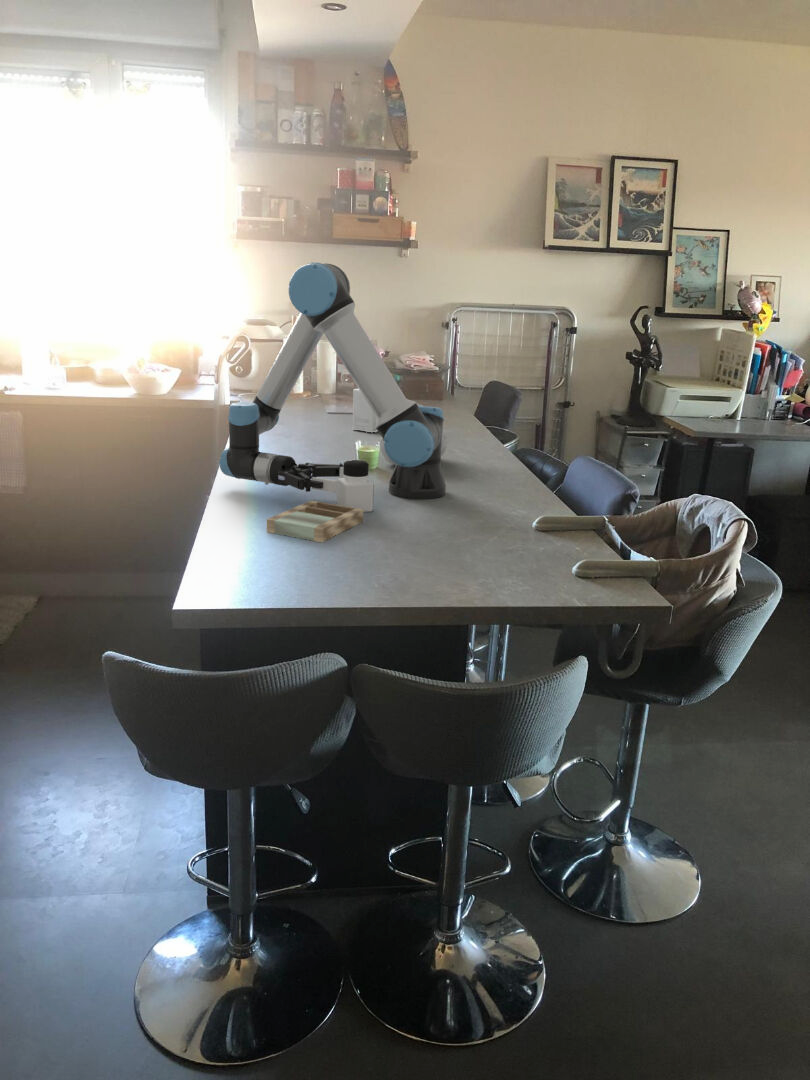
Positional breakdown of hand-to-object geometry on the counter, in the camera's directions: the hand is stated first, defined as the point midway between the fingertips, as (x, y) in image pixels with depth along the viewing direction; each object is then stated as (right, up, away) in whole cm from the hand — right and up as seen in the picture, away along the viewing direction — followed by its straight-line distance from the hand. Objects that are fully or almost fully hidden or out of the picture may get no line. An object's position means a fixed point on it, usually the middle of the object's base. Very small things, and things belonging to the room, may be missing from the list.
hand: (350, 481), depth 211 cm
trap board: (-7, -11, -14) cm, 19 cm away
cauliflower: (+15, +9, +56) cm, 58 cm away
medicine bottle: (+1, -7, +2) cm, 7 cm away
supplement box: (0, +25, +104) cm, 107 cm away
